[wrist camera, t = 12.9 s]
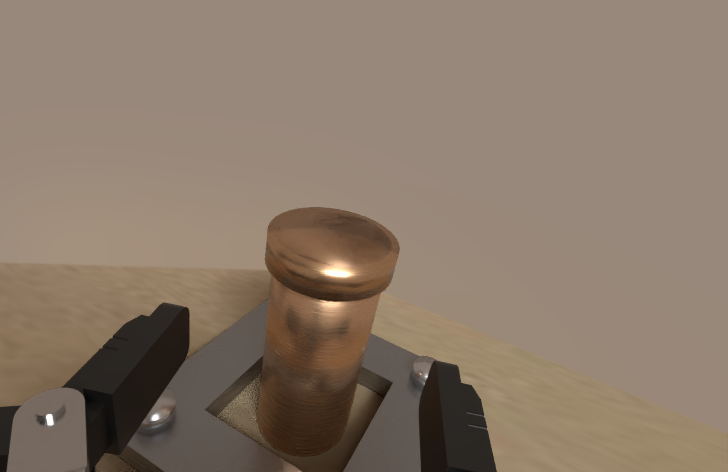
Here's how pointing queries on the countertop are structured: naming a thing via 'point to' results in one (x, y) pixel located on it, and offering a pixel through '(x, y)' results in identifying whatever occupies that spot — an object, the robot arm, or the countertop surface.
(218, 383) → the flange
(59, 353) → the countertop surface
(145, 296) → the countertop surface
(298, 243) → the pipe stub
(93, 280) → the countertop surface
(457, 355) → the countertop surface
